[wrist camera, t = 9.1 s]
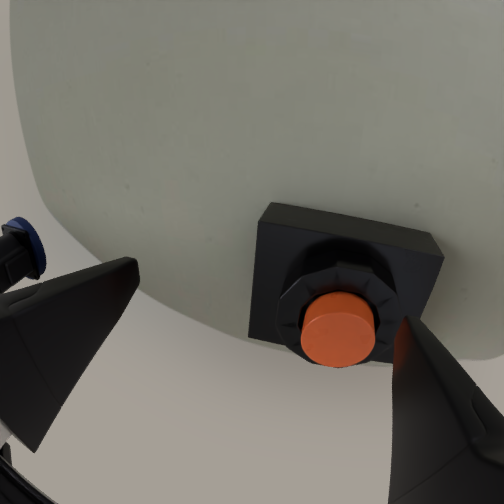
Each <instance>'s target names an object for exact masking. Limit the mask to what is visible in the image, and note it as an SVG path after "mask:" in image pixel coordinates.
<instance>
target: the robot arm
mask: <svg viewBox="0 0 504 504" xmlns="http://www.w3.org/2000/svg"><path fill="white" fill-rule="evenodd" d="M1 229H2V234H3V236H1V237H0V504H58V503H56V502H55V501H53V500H52V499H51V498H49V497H48V496H47V495H46V494H44V493H43V492H42V491H40V490H39V489H38V488H37V487H35V486H34V485H33V484H32V483H31V482H29V481H28V480H27V479H26V478H25V477H24V476H22V475H21V474H20V473H19V472H18V471H17V470H16V469H15V468H13V467H12V461H11V451H10V445H9V444H8V443H7V442H6V440H8V438H9V437H10V436H11V434H12V435H13V436H14V437H15V438H17V439H18V440H19V441H20V442H21V443H22V444H23V445H25V446H26V447H27V448H28V449H29V450H30V451H32V452H33V453H35V452H36V451H37V449H38V447H39V445H40V444H41V442H42V440H43V438H44V436H45V435H46V433H47V431H48V430H49V428H50V426H51V424H52V423H53V421H54V419H55V418H56V416H57V414H58V413H59V411H60V409H61V406H63V404H64V402H65V401H66V399H67V398H68V396H69V394H70V393H71V391H72V389H73V388H74V386H75V385H76V383H77V382H78V380H79V379H80V377H81V375H82V374H83V372H84V371H85V369H86V367H87V366H88V365H89V363H90V362H91V360H92V359H93V357H94V355H95V354H96V352H97V351H98V350H99V348H100V347H101V345H102V343H103V342H104V341H105V339H106V338H107V336H108V335H109V333H110V332H111V330H112V329H113V327H114V326H115V325H116V323H117V322H118V320H119V319H120V317H121V316H122V314H123V312H124V310H125V309H126V307H127V305H128V303H129V301H130V300H131V298H132V296H133V294H134V293H135V291H136V289H137V287H138V286H139V283H140V275H139V268H138V262H137V260H136V259H135V258H131V257H123V258H119V259H116V260H112V261H109V262H106V263H102V264H99V265H96V266H93V267H89V268H86V269H83V270H80V271H76V272H73V273H70V274H67V275H64V276H60V277H57V278H54V279H51V280H48V281H44V282H43V283H39V284H35V285H32V286H29V287H25V288H22V289H18V290H15V291H11V292H8V293H4V292H5V291H7V290H8V289H9V288H10V287H11V286H14V285H15V284H16V283H18V282H19V281H20V280H22V279H23V278H24V277H26V276H28V277H30V278H33V279H35V280H39V279H40V274H39V271H38V268H37V264H36V260H35V257H34V253H33V249H32V245H31V241H30V236H29V233H28V231H27V230H24V229H20V228H17V227H13V226H10V225H6V224H3V225H2V226H1ZM3 293H4V294H3ZM392 404H393V406H392V409H393V425H392V426H393V427H392V458H391V475H390V487H389V498H388V504H504V416H503V415H502V414H501V413H500V412H499V411H498V410H497V409H496V407H495V406H494V405H493V404H492V403H491V402H490V400H489V399H488V398H487V397H486V396H485V394H484V393H483V392H482V391H481V389H480V388H479V387H478V386H476V383H475V382H474V381H473V380H472V378H471V377H470V376H469V375H468V374H467V372H466V371H465V370H464V369H463V368H462V367H461V365H460V364H459V363H458V362H457V361H456V359H455V358H454V357H453V356H452V355H451V354H450V352H449V351H448V350H447V349H446V348H445V347H444V346H443V344H442V343H441V342H440V341H439V340H438V339H437V338H436V337H435V335H434V334H433V333H432V332H431V331H430V330H429V329H428V328H427V327H426V326H425V324H424V323H423V322H422V321H421V320H420V319H419V318H418V317H416V316H410V315H406V316H405V317H404V318H403V320H402V323H401V325H400V327H399V329H398V332H397V334H396V337H395V342H394V361H393V375H392Z"/></svg>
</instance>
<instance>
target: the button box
mask: <svg viewBox="0 0 504 504" xmlns="http://www.w3.org/2000/svg"><path fill="white" fill-rule="evenodd" d="M444 258H445V257H444V255H443V253H442V252H441V250H440V248H439V247H438V245H437V243H436V242H435V240H434V239H433V237H432V235H431V234H430V233H428V232H423V231H419V230H414V229H410V228H405V227H401V226H396V225H392V224H387V223H382V222H377V221H372V220H367V219H362V218H357V217H352V216H347V215H342V214H336V213H331V212H326V211H320V210H314V209H309V208H303V207H297V206H291V205H285V204H279V203H273V202H271V203H270V204H269V206H268V207H267V209H266V210H265V212H264V213H263V215H262V216H261V218H260V219H259V221H258V229H257V240H256V252H255V263H254V275H253V286H252V297H251V308H250V320H249V331H248V337H249V338H253V339H258V340H262V341H267V342H271V343H276V344H281V345H285V346H286V347H287V348H288V349H290V350H291V351H293V352H294V353H296V354H297V355H299V356H300V357H302V358H303V359H305V360H306V361H308V362H311V363H312V364H318V365H321V364H319V363H317V362H315V361H313V360H312V359H311V358H309V357H308V356H307V355H306V353H305V352H304V350H303V348H302V345H301V333H302V328H303V323H304V318H305V313H306V310H307V308H308V307H309V305H310V304H311V303H312V302H313V301H314V300H315V299H317V298H318V297H320V296H322V295H324V294H327V293H331V292H338V291H340V292H349V293H353V294H355V295H357V296H359V297H361V298H362V299H364V300H365V301H366V302H367V303H368V304H369V306H370V307H371V309H372V312H373V318H374V329H375V344H374V347H373V349H372V351H371V352H370V354H369V355H368V356H367V357H366V358H365V359H363V360H362V361H360V362H358V363H356V364H354V365H358V364H362V363H367V362H369V361H377V362H384V363H392V364H393V361H394V342H395V337H396V334H397V332H398V329H399V327H400V325H401V323H402V320H403V318H404V317H405V316H406V315H410V316H416V317H418V318H419V319H420V317H421V315H422V312H423V310H424V308H425V306H426V303H427V301H428V299H429V296H430V294H431V292H432V289H433V287H434V284H435V282H436V279H437V277H438V274H439V271H440V269H441V266H442V263H443V261H444ZM351 366H353V365H351ZM346 367H348V366H346ZM335 368H343V367H335Z"/></svg>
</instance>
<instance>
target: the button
mask: <svg viewBox="0 0 504 504" xmlns="http://www.w3.org/2000/svg"><path fill="white" fill-rule="evenodd" d="M374 344H375V329H374V318H373V312H372V309H371V307H370V306H369V304H368V303H367V302H366V301H365V300H364V299H362V298H361V297H359V296H357V295H355V294H353V293H349V292H340V291H338V292H331V293H327V294H324V295H322V296H320V297H318V298H317V299H315V300H314V301H313V302H312V303H311V304H310V305H309V307H308V308H307V310H306V313H305V318H304V323H303V328H302V333H301V345H302V348H303V350H304V352H305V353H306V355H307V356H308V357H309V358H311V359H312V360H313V361H315V362H317V363H319V364H321V365H324V366H329V367H346V366H351V365H354V364H356V363H358V362H360V361H362V360H363V359H365V358H366V357H367V356H368V355H369V354H370V352H371V351H372V349H373V347H374Z"/></svg>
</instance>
